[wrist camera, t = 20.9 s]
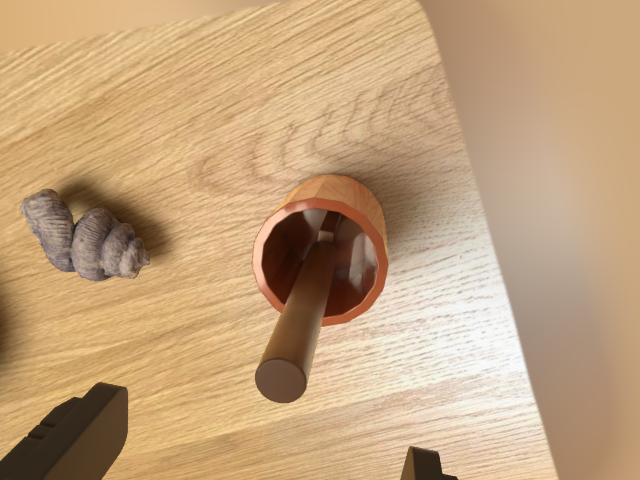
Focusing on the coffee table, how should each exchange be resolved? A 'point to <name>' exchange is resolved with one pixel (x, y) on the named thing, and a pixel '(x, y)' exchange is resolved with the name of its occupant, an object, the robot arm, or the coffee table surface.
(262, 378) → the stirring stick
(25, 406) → the coffee table surface
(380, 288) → the crock
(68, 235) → the seashell
